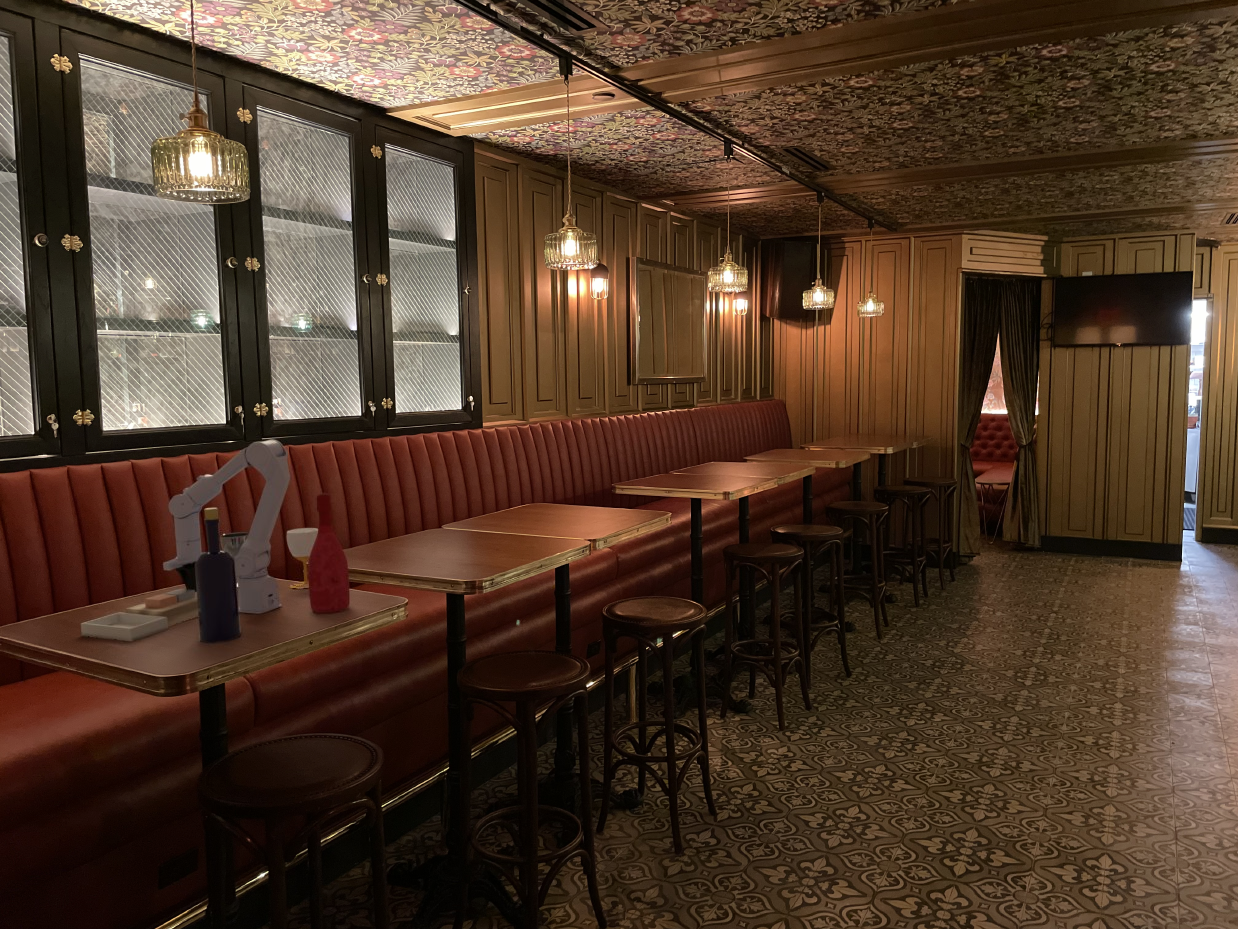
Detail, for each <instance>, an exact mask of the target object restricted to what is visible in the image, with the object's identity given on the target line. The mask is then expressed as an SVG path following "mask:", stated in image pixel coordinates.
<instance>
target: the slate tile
mask: <svg viewBox="0 0 1238 929" xmlns="http://www.w3.org/2000/svg"><path fill="white" fill-rule="evenodd" d="M163 594H169V595H177V602H182V601H186V600H189V599H192V598H195V596H196V592H195V590H189V589H186V588H177V589H175V590H171V591H168V592H164V593H163Z"/></svg>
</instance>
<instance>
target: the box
mask: <svg viewBox="0 0 1238 929" xmlns="http://www.w3.org/2000/svg"><path fill="white" fill-rule="evenodd" d="M80 630H81V636H82V637H88V636H89V637H88V638H96V637H97V639H105V640H106V639H107V640H114V639H117V641H123V640H124V641H126V642H134V641H137V640H141V639H143V638H147V637H149V636H151V635H155V634H158V633H161V632H164V631H168V630H169V626H168V621H167V617H162V616H151V615H141V614H131V613H126V612H120V611H119V612H115V613H113V614H108V615H105V616H101V617H99V618H95V619H92V620H88V621H85V622H81V623H80ZM160 631H161V632H160ZM124 641H123V642H124Z"/></svg>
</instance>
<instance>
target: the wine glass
mask: <svg viewBox="0 0 1238 929" xmlns="http://www.w3.org/2000/svg"><path fill="white" fill-rule="evenodd" d="M249 532H250V531H249ZM249 532H248V531H246V532H245V531H240V532H239V531H238V532H228V533H223V534H221V535H219V539H220V547H221V550H222V551H228V552H229V553H230V554H231V555H232V556H233V557H235V556H236V555H237V554H238V553H239V551H240V548H241V546H242V545H243V544H244V542H245V541H246V540H247V538H248V535H249ZM237 587H238V581H237Z"/></svg>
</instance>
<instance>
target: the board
mask: <svg viewBox="0 0 1238 929" xmlns="http://www.w3.org/2000/svg"><path fill="white" fill-rule="evenodd" d="M125 613H131V614H141V615H151V616H162V617H167V621H168V627H171V626H174V625H177V624H180V623H183V622H182V621H184V622H185V621H186V620H187V621H189V619H190V620H192V618H193V619H195V617H196V618H199V617H198V616H199V615H198V602H197V595H195V598H192V599H189V600H186V601H182V602H177V603H176V604H172V605H169V606H166V607H163V608H153V607H145V602H143V603H140V604H137V605H134V606H129V607H127V608H126V607H125ZM176 623H177V624H176ZM173 624H174V625H173ZM170 625H171V626H170Z"/></svg>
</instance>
